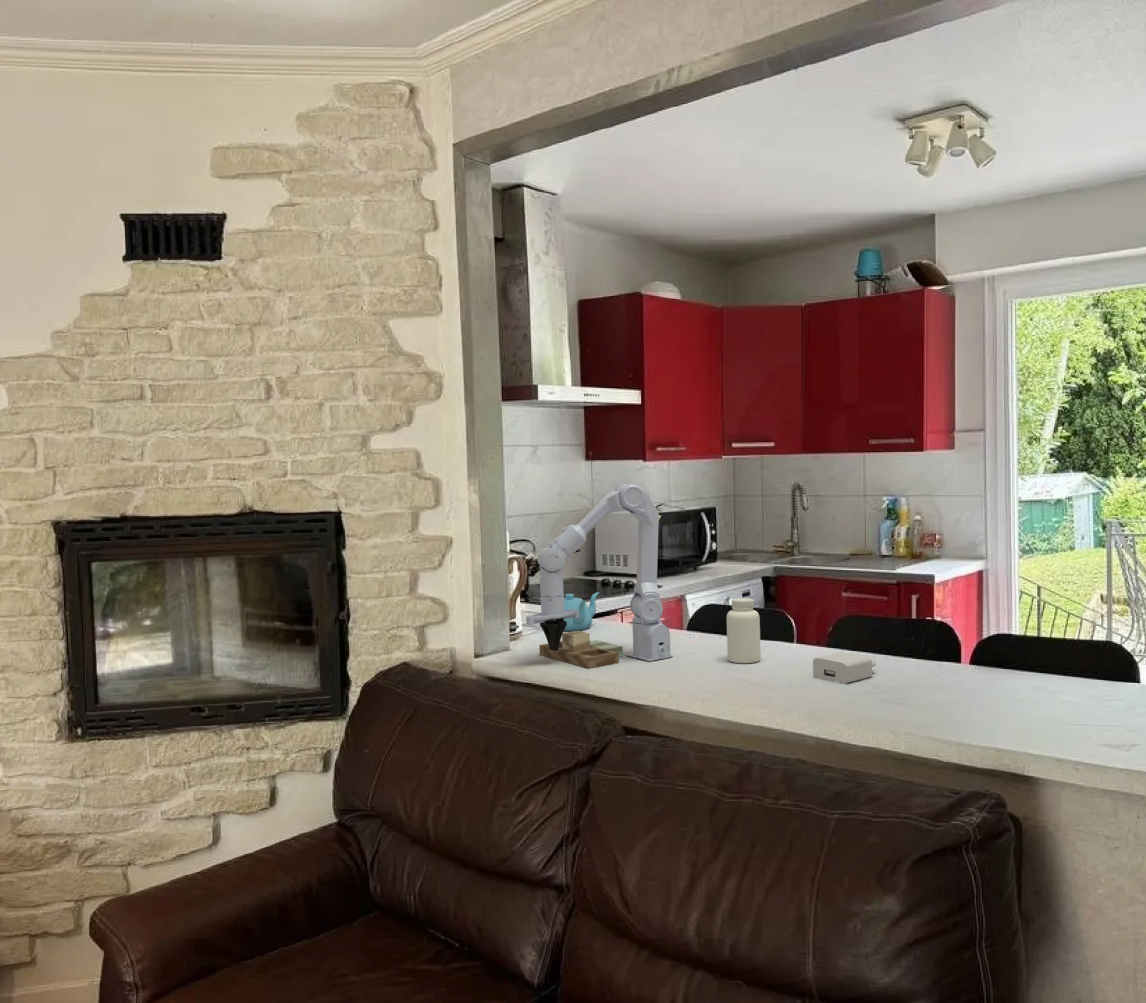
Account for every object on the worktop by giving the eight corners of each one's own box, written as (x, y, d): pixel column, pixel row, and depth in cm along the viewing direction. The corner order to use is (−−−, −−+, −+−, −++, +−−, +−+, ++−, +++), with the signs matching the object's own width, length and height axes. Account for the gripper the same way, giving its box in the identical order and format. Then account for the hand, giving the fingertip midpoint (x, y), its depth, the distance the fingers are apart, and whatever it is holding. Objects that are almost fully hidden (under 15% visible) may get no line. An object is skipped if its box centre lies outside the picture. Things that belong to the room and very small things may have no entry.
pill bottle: (759, 656, 235) (757, 596, 234) (762, 664, 227) (760, 601, 226) (726, 657, 236) (725, 597, 235) (728, 664, 228) (727, 602, 227)
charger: (889, 674, 214) (846, 685, 205) (855, 667, 221) (813, 678, 212) (888, 653, 214) (846, 663, 205) (854, 647, 221) (812, 657, 212)
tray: (636, 659, 236) (635, 649, 236) (589, 668, 228) (588, 658, 228) (584, 646, 254) (584, 637, 254) (539, 654, 246) (539, 645, 246)
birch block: (590, 649, 239) (589, 633, 238) (573, 652, 236) (573, 636, 236) (578, 646, 243) (578, 630, 243) (562, 649, 240) (561, 633, 240)
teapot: (557, 623, 292) (556, 590, 291) (603, 624, 286) (602, 590, 286) (539, 632, 278) (537, 597, 278) (586, 633, 273) (585, 598, 272)
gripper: (567, 590, 242) (568, 643, 243) (518, 597, 234) (520, 651, 235) (583, 593, 236) (584, 647, 237) (534, 600, 228) (536, 656, 229)
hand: (554, 649), depth 235 cm, fingers closed
